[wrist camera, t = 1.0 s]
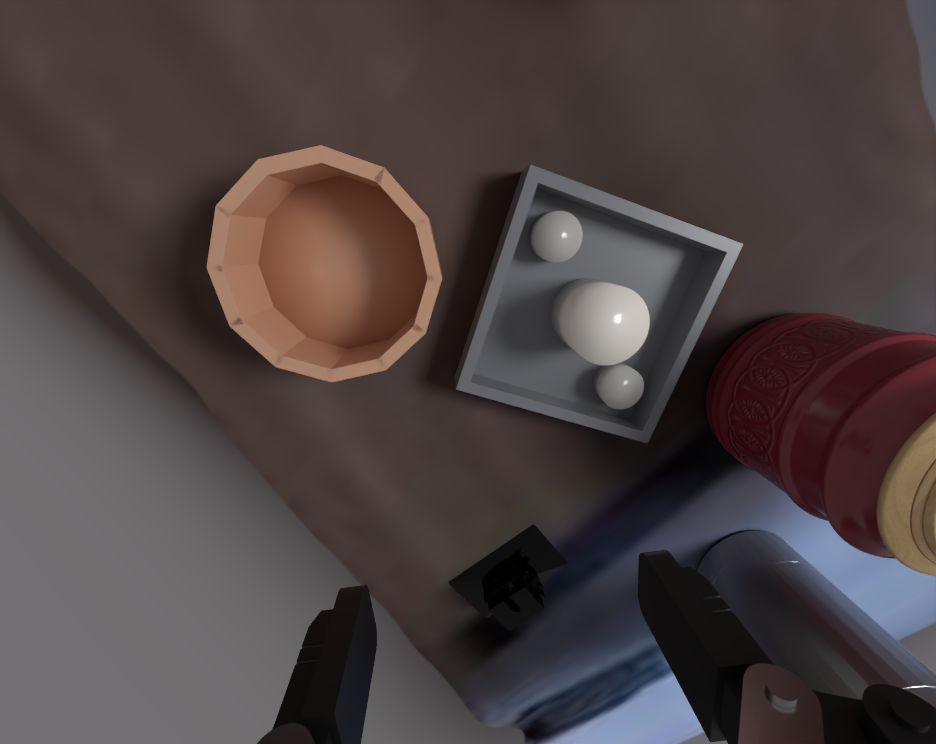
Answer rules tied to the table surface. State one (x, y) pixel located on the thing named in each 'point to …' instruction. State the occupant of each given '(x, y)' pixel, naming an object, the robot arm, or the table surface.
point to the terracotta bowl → (324, 264)
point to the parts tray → (603, 258)
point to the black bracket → (511, 578)
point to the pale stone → (600, 320)
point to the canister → (838, 426)
